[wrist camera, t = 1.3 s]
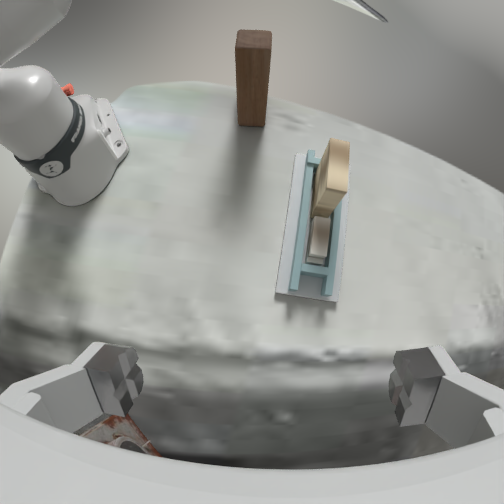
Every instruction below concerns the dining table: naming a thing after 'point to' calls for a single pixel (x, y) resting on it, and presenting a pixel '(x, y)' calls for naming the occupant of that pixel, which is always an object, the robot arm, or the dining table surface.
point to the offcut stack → (317, 241)
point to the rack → (296, 236)
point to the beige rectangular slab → (330, 179)
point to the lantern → (121, 435)
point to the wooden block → (252, 75)
